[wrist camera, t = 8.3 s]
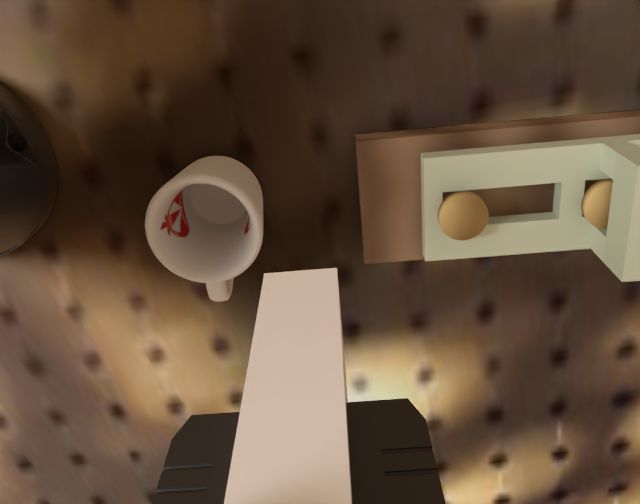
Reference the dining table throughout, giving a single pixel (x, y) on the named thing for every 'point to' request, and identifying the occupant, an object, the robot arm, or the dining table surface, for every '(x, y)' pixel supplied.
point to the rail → (469, 205)
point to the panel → (567, 218)
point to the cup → (208, 223)
